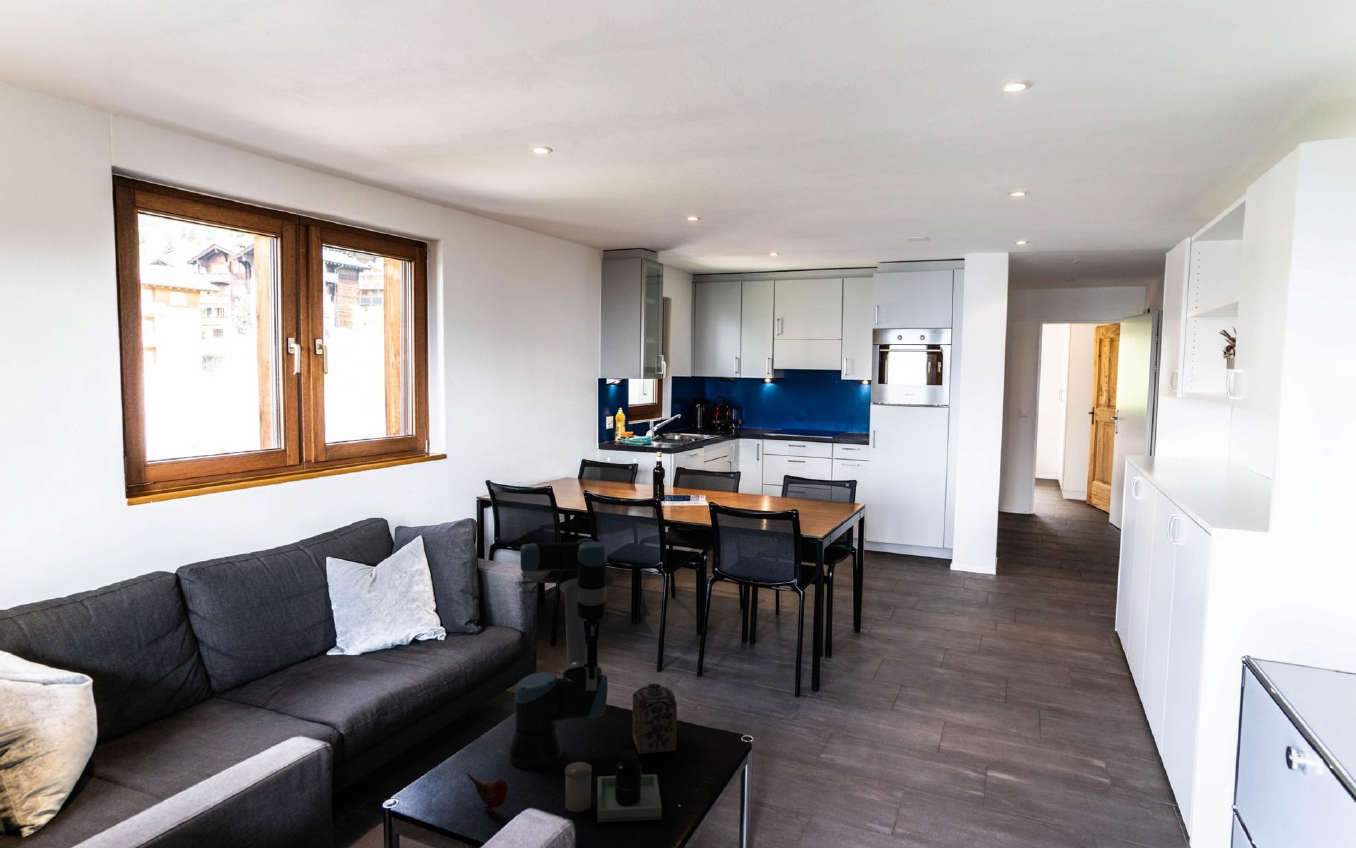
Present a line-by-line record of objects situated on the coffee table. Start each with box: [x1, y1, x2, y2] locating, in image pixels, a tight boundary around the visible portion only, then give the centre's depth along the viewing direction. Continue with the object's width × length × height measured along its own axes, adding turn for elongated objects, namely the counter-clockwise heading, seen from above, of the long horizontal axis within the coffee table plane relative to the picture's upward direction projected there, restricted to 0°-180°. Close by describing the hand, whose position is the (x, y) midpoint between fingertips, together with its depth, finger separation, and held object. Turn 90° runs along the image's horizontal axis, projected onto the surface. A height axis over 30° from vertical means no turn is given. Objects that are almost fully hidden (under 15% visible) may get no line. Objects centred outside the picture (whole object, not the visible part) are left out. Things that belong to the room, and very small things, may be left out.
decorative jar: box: [631, 683, 678, 755], centre depth 225 cm, size 12×12×18 cm
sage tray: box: [597, 773, 663, 823], centre depth 193 cm, size 16×16×3 cm
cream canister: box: [564, 761, 593, 813], centre depth 192 cm, size 7×7×10 cm
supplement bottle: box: [615, 750, 643, 806], centre depth 193 cm, size 7×7×12 cm
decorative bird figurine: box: [466, 773, 509, 816], centre depth 189 cm, size 3×18×10 cm, turn 49°
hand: (590, 678), depth 198 cm, fingers open, 13 cm apart
